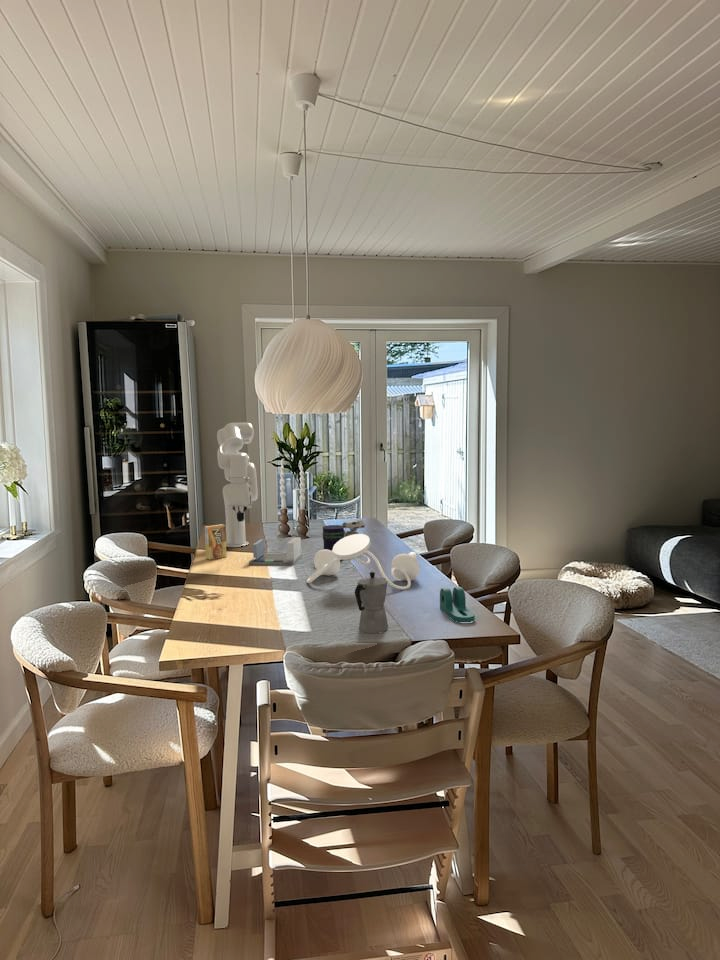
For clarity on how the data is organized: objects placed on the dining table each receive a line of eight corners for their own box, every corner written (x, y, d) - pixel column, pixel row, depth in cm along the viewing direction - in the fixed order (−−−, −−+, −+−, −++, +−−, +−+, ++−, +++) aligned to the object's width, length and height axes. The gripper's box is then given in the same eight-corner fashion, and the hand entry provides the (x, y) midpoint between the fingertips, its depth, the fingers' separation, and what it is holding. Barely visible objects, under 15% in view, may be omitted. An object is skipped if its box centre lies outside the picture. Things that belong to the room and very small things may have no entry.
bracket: (439, 608, 232) (439, 586, 231) (458, 607, 233) (458, 584, 232) (457, 625, 214) (457, 600, 213) (477, 623, 215) (477, 599, 215)
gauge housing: (260, 556, 320) (259, 536, 319) (302, 556, 318) (301, 536, 317) (249, 565, 303) (248, 544, 302) (293, 565, 300) (292, 544, 299)
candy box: (222, 555, 323) (221, 524, 322) (227, 557, 320) (225, 525, 318) (205, 558, 318) (204, 526, 316) (209, 560, 314) (208, 527, 313)
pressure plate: (261, 553, 317) (260, 539, 316) (264, 553, 317) (263, 539, 316) (251, 560, 303) (251, 545, 302) (255, 560, 303) (254, 545, 302)
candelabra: (400, 558, 242) (425, 520, 275) (286, 553, 257) (323, 517, 291) (405, 609, 248) (429, 566, 281) (293, 601, 263) (328, 561, 297)
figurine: (368, 552, 323) (367, 521, 322) (344, 554, 321) (344, 522, 319) (364, 548, 332) (363, 518, 330) (341, 550, 330) (340, 519, 328)
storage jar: (333, 562, 304) (332, 529, 302) (318, 559, 310) (317, 527, 309) (349, 558, 311) (348, 526, 309) (334, 556, 317) (333, 524, 316)
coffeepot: (373, 620, 220) (372, 565, 218) (397, 625, 214) (396, 569, 212) (344, 634, 208) (342, 576, 206) (369, 639, 202) (368, 580, 200)
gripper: (257, 480, 311) (259, 519, 313) (225, 480, 313) (227, 520, 315) (252, 481, 304) (254, 522, 305) (220, 482, 306) (222, 522, 307)
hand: (240, 521), depth 310 cm, fingers closed
